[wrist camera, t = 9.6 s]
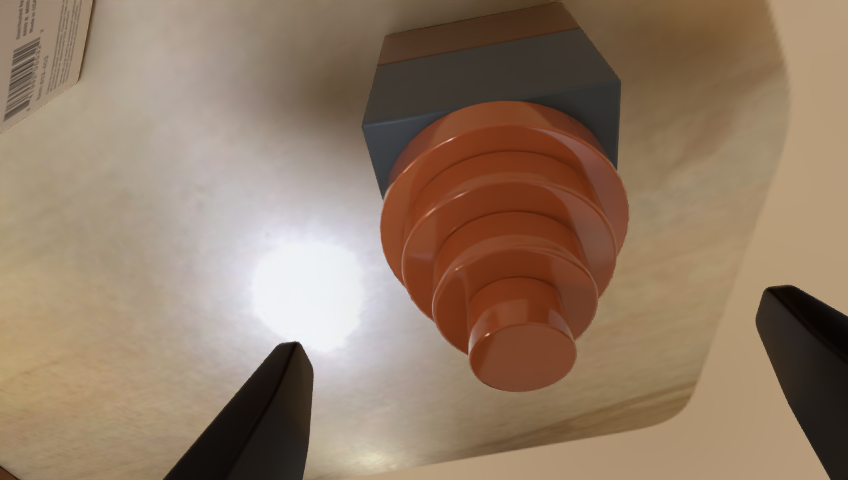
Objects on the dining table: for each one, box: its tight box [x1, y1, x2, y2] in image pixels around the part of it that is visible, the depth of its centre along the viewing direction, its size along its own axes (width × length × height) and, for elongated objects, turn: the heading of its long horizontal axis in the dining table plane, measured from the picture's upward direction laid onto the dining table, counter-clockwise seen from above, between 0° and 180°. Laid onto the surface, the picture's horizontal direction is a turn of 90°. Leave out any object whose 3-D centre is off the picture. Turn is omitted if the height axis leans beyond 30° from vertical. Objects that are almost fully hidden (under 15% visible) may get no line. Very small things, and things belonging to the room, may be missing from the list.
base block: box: [377, 2, 581, 67], centre depth 18 cm, size 6×6×3 cm
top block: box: [362, 29, 621, 301], centre depth 15 cm, size 6×6×4 cm
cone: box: [380, 101, 629, 392], centre depth 12 cm, size 6×6×5 cm
